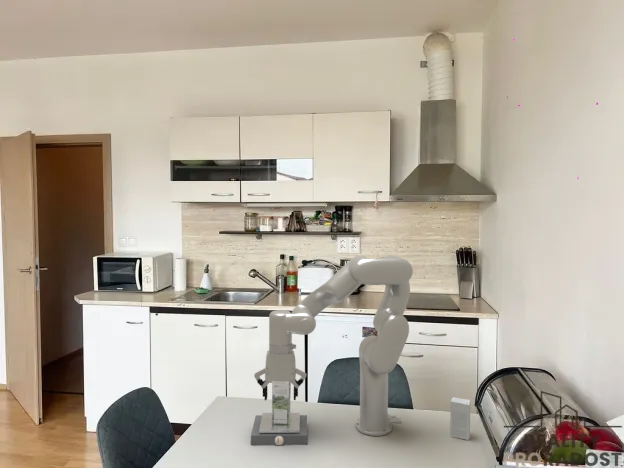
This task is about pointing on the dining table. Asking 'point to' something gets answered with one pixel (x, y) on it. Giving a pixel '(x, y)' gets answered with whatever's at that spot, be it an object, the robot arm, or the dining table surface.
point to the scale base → (279, 435)
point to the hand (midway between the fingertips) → (280, 398)
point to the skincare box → (460, 418)
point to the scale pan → (268, 427)
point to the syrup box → (281, 402)
